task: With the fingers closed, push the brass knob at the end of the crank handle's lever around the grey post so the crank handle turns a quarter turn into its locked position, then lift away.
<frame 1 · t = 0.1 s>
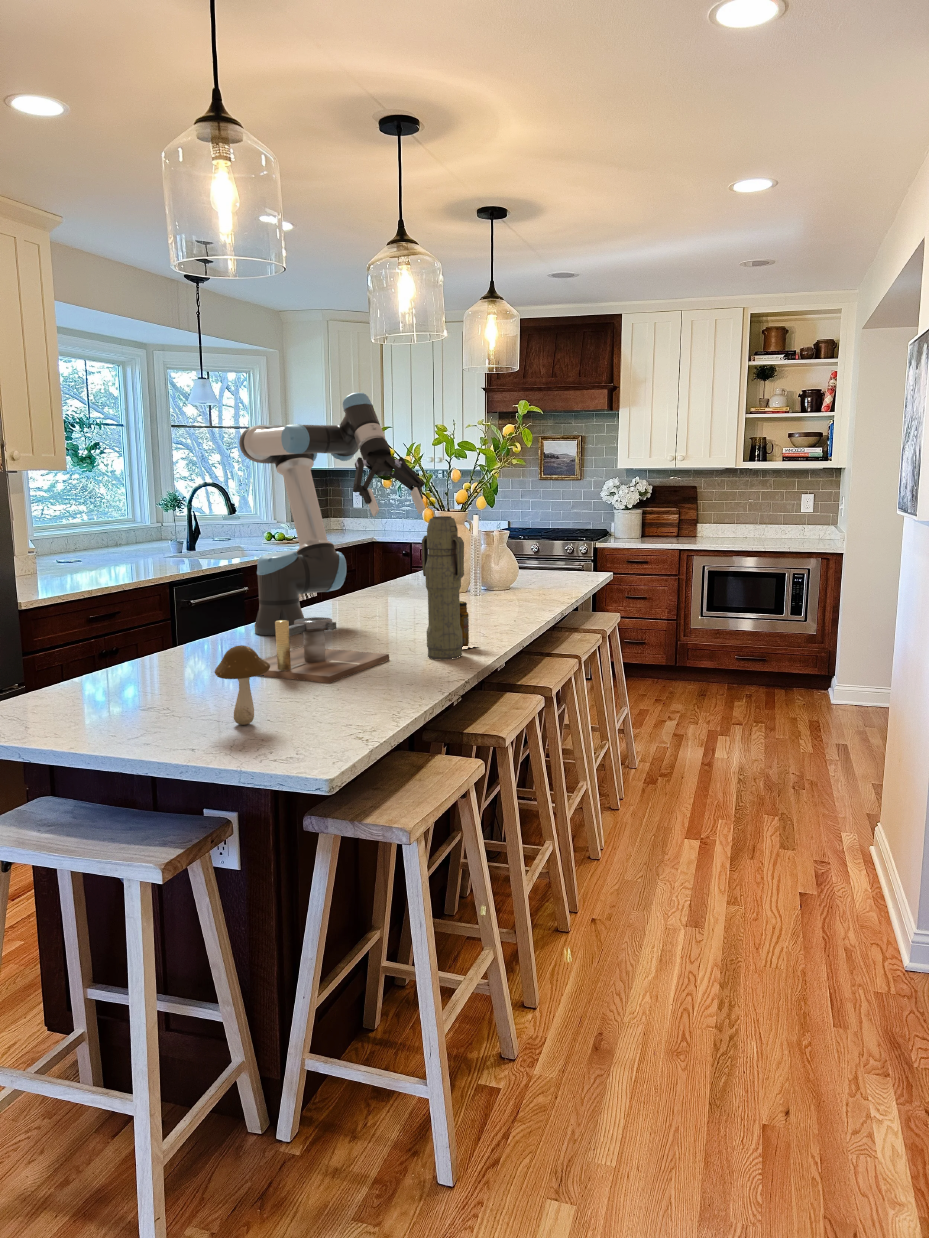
hand: (399, 512, 225), 36 cm above the countertop, tool tilted 35°, fingers open, 13 cm apart
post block: (315, 666, 214), on the countertop
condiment: (459, 648, 235), on the countertop
crank handle: (305, 639, 208), point 7 cm above the countertop, hinge at 0.0°
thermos: (445, 657, 223), on the countertop
mushroom: (246, 724, 166), on the countertop
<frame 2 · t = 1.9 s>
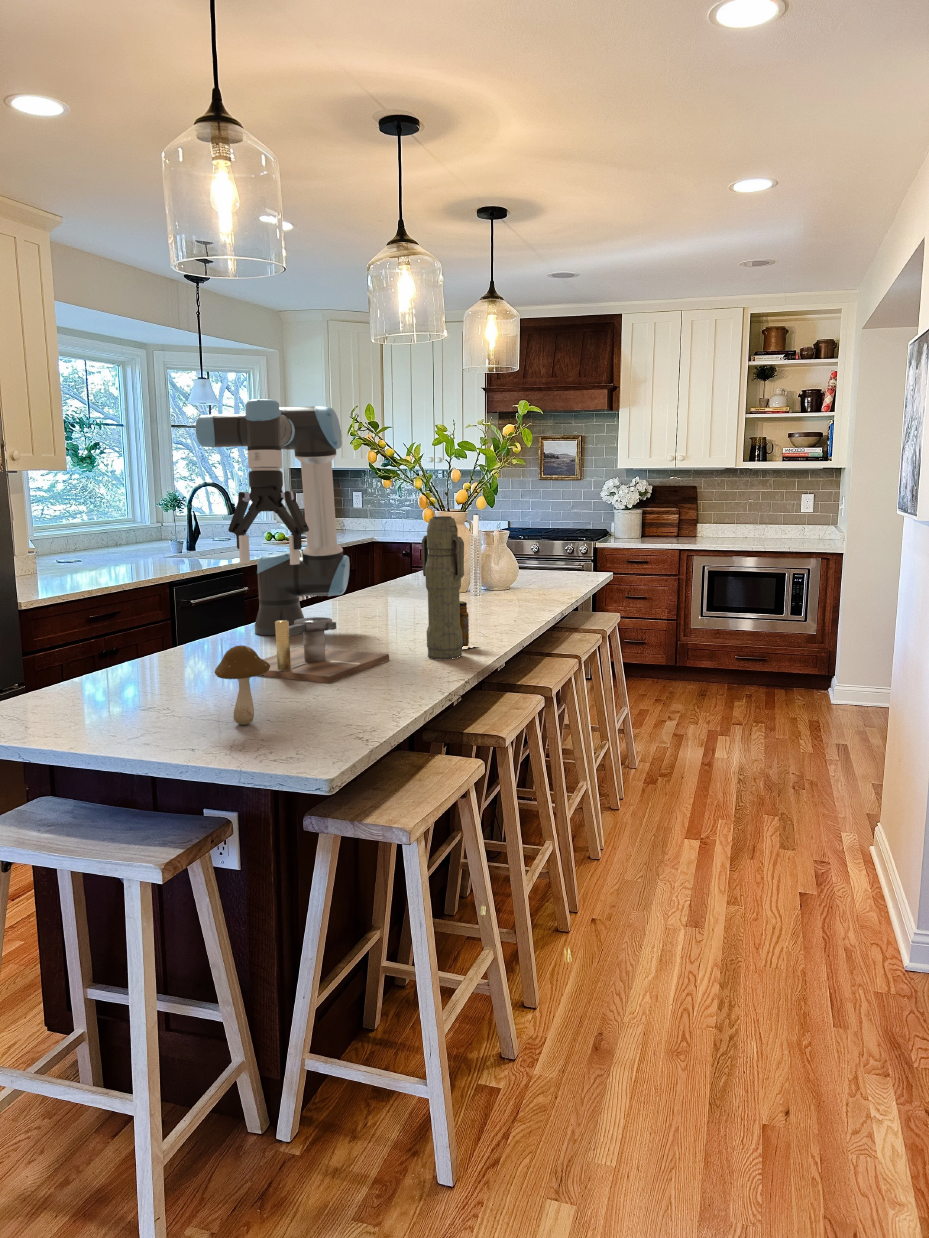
hand: (269, 564, 203), 26 cm above the countertop, tool pointing down, fingers open, 13 cm apart
nothing on the countertop moved.
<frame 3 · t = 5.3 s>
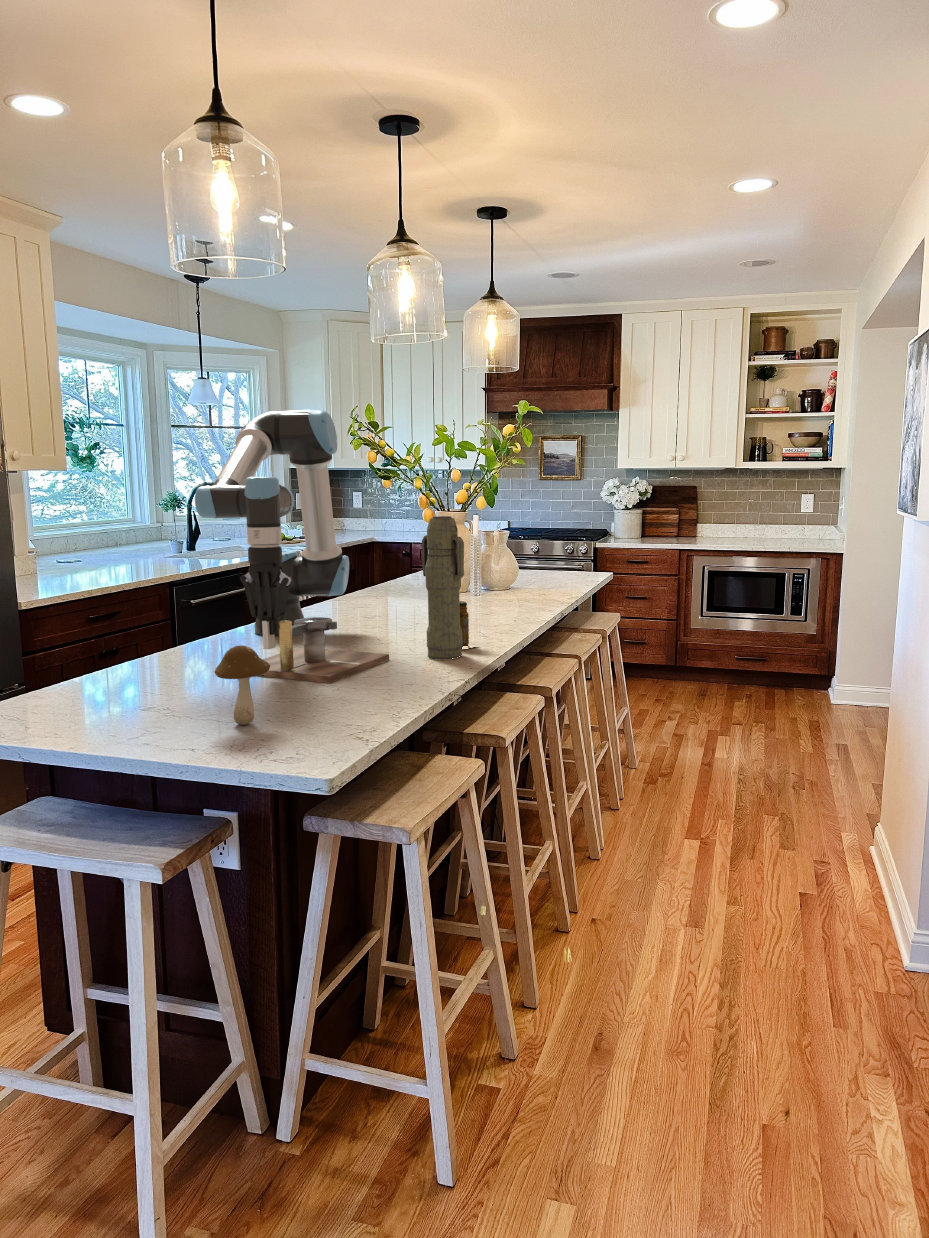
hand: (269, 648, 204), 7 cm above the countertop, tool pointing down, fingers closed
crank handle: (306, 639, 208), point 8 cm above the countertop, hinge at 4.0°, touching gripper
everything else where it was.
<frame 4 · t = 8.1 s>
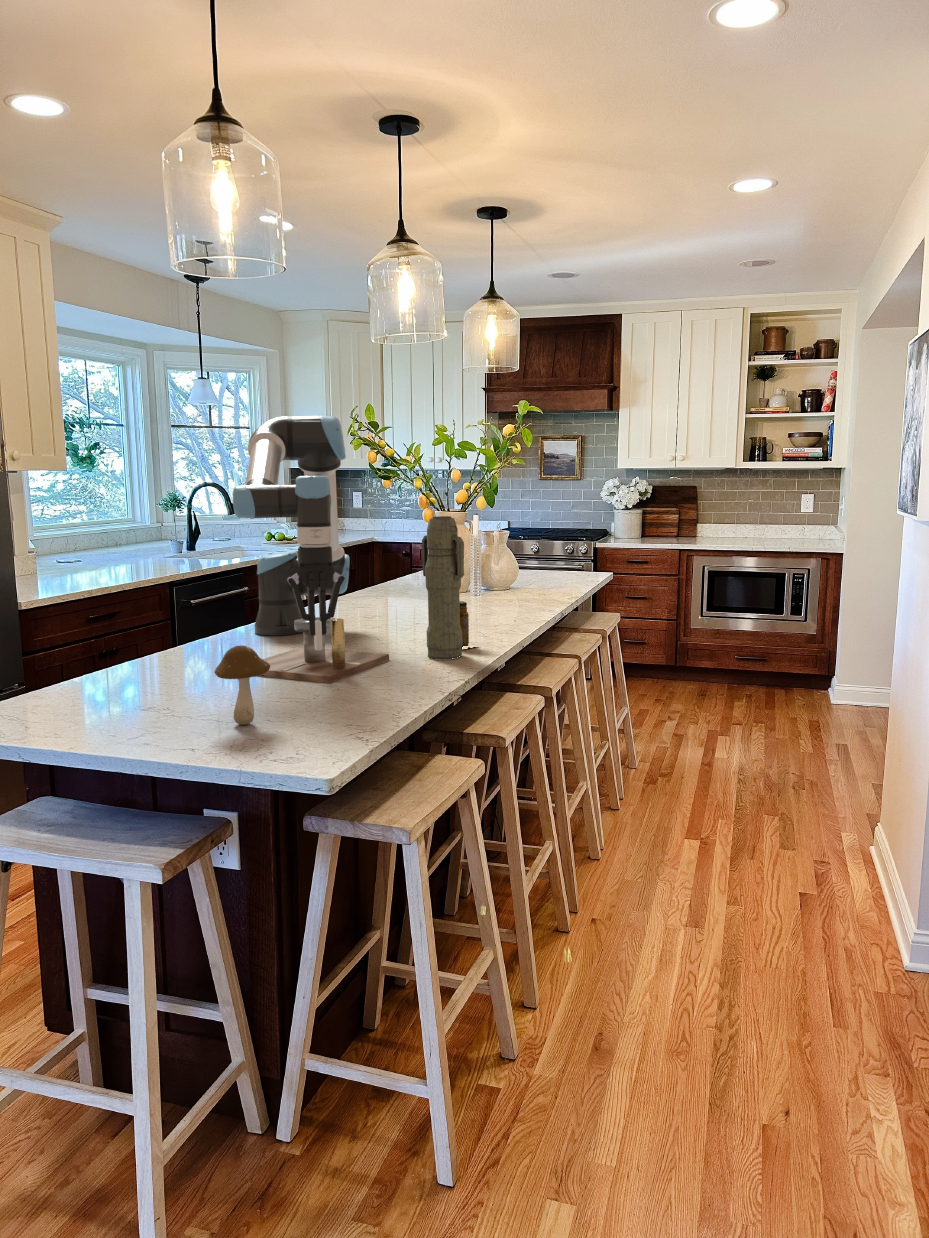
hand: (318, 649, 202), 7 cm above the countertop, tool pointing down, fingers closed
crank handle: (325, 638, 210), point 8 cm above the countertop, hinge at 62.6°, touching gripper
everything else where it was.
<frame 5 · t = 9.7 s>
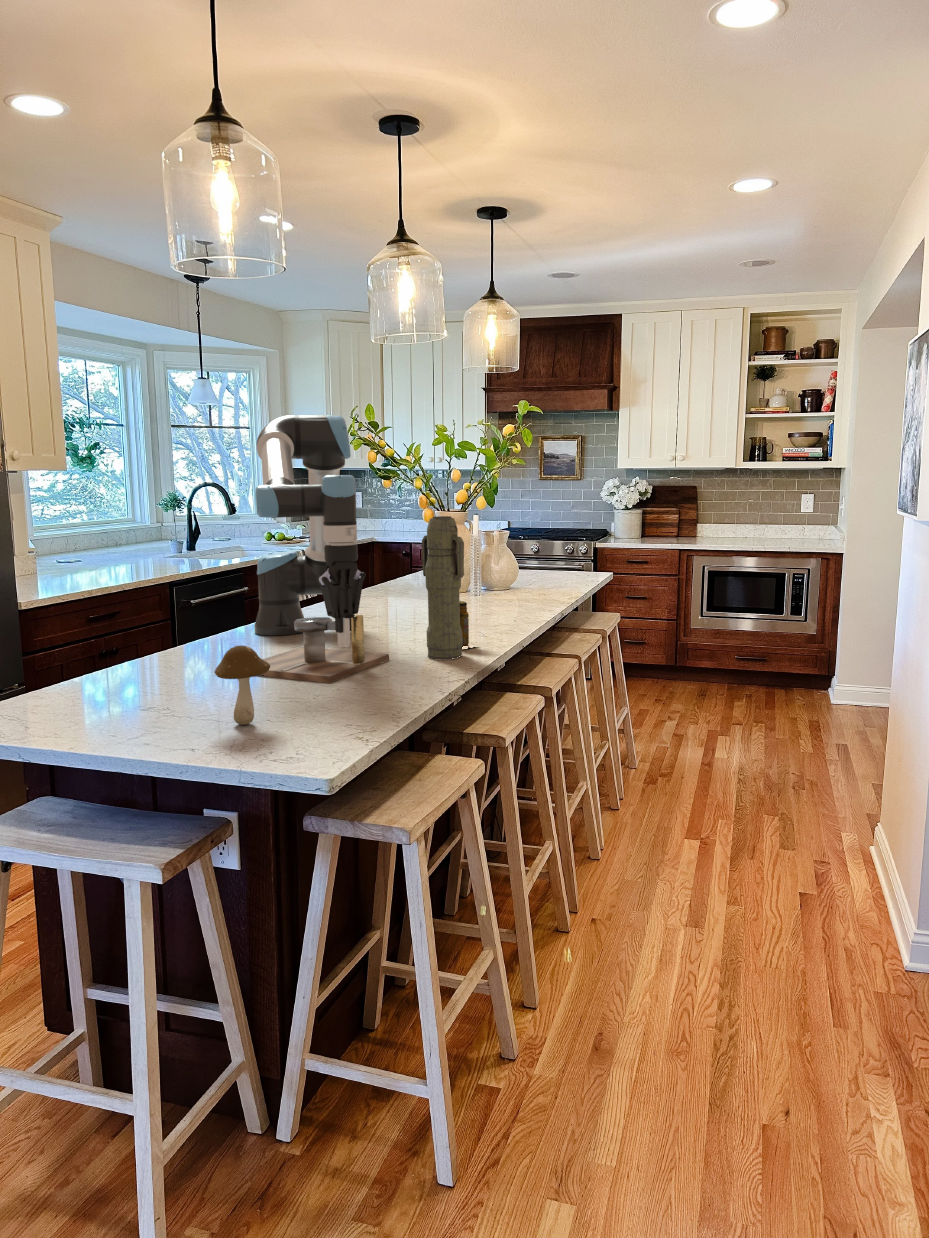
hand: (344, 645, 205), 7 cm above the countertop, tool pointing down, fingers closed
crank handle: (331, 636, 212), point 7 cm above the countertop, hinge at 93.2°, touching gripper
everything else where it was.
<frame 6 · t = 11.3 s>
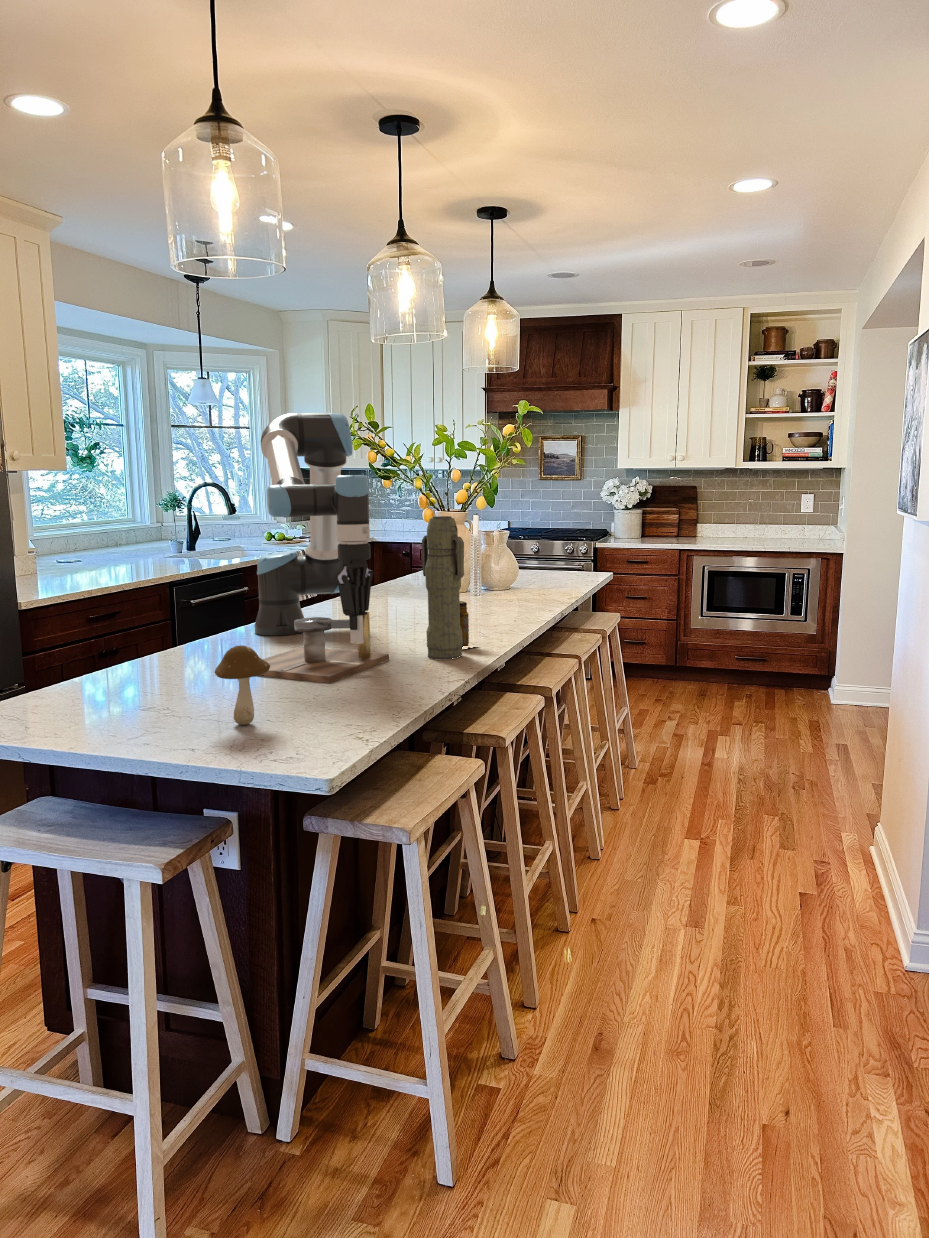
hand: (357, 642, 208), 7 cm above the countertop, tool pointing down, fingers closed
crank handle: (333, 635, 213), point 8 cm above the countertop, hinge at 115.6°, touching gripper
everything else where it was.
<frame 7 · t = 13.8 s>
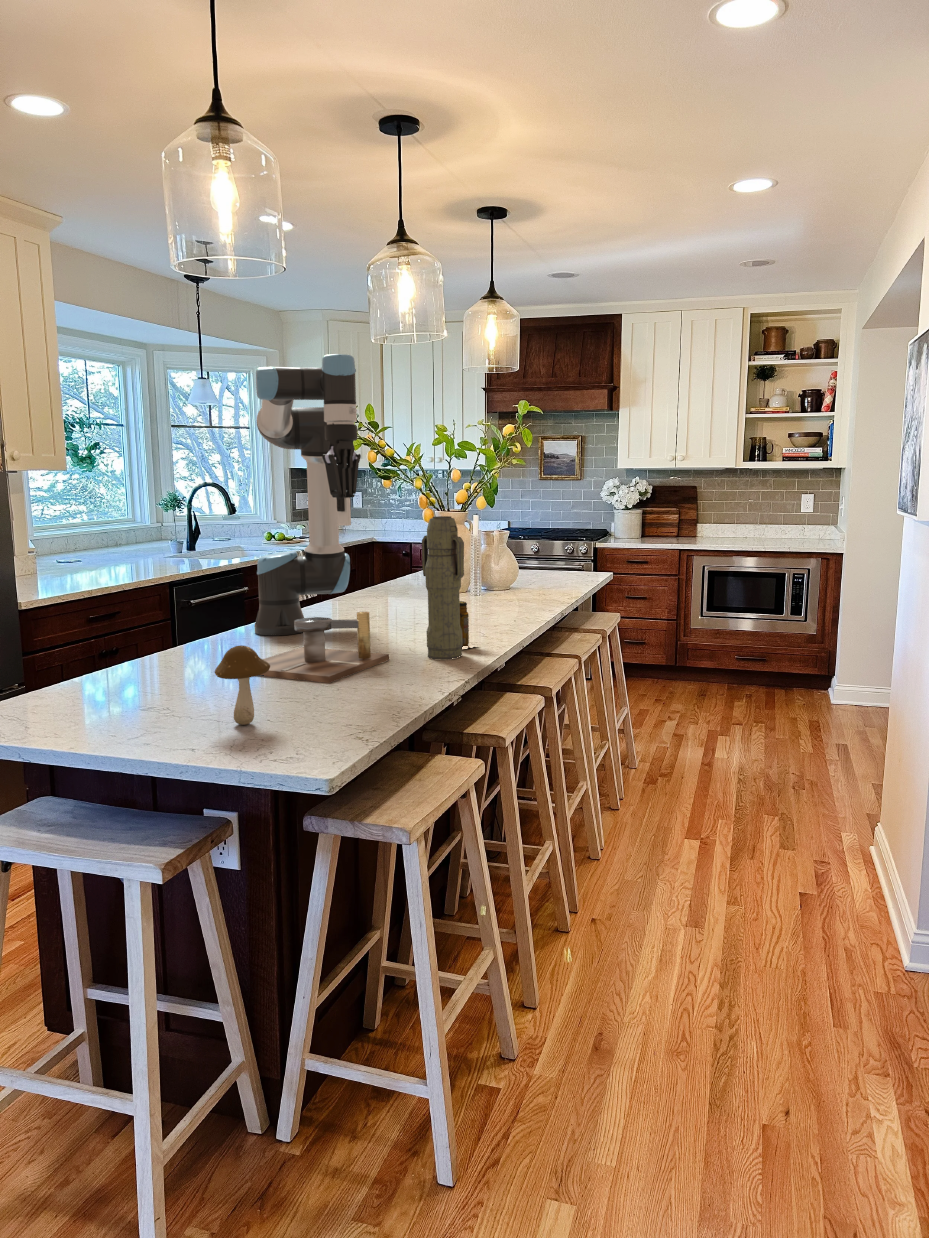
hand: (344, 525, 210), 34 cm above the countertop, tool pointing down, fingers closed
crank handle: (333, 635, 213), point 8 cm above the countertop, hinge at 115.7°
everything else where it was.
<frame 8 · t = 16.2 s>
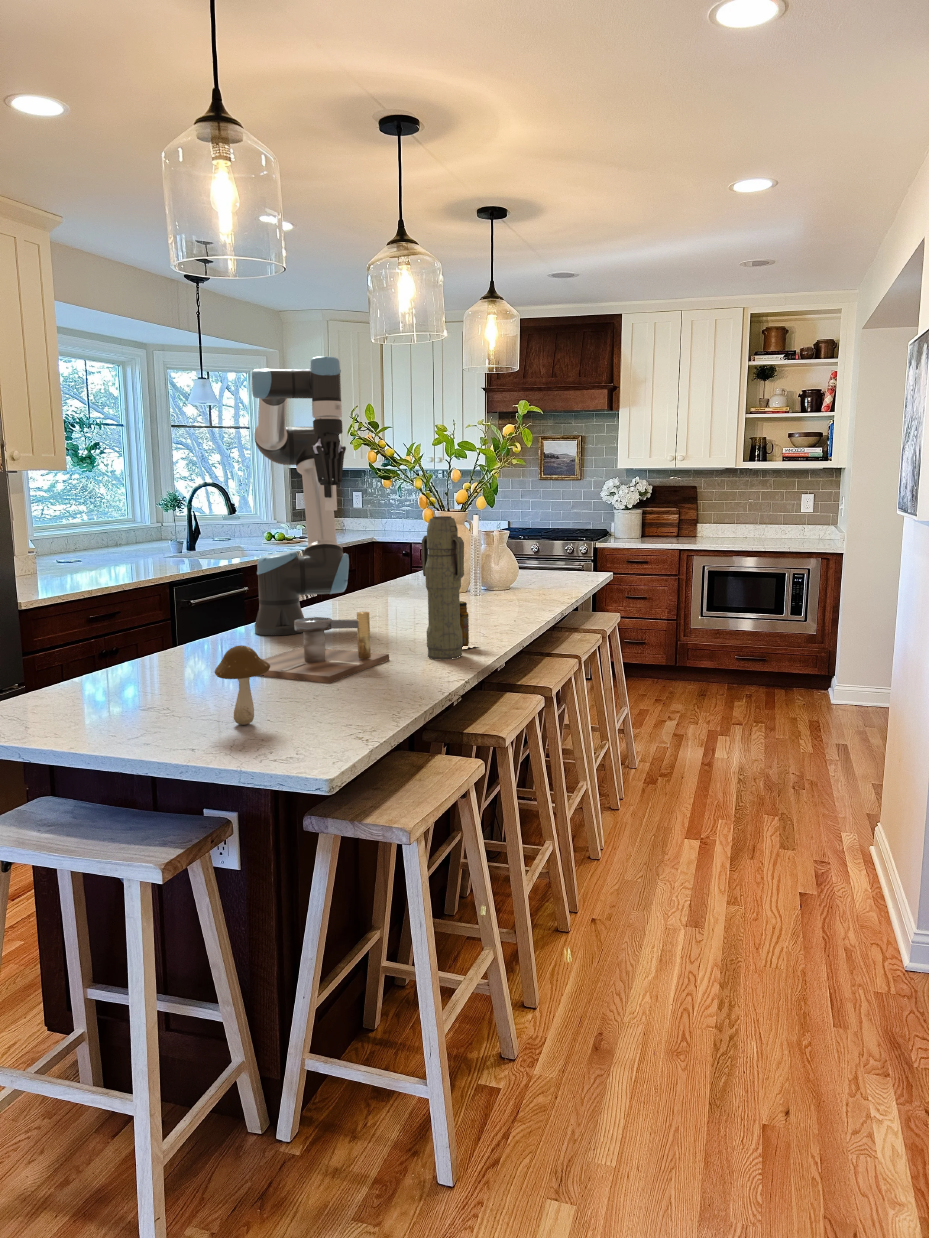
hand: (331, 510, 234), 36 cm above the countertop, tool pointing down, fingers closed
nothing on the countertop moved.
at the end: crank handle at +116° (first picture: +0°); the gripper is holding nothing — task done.
